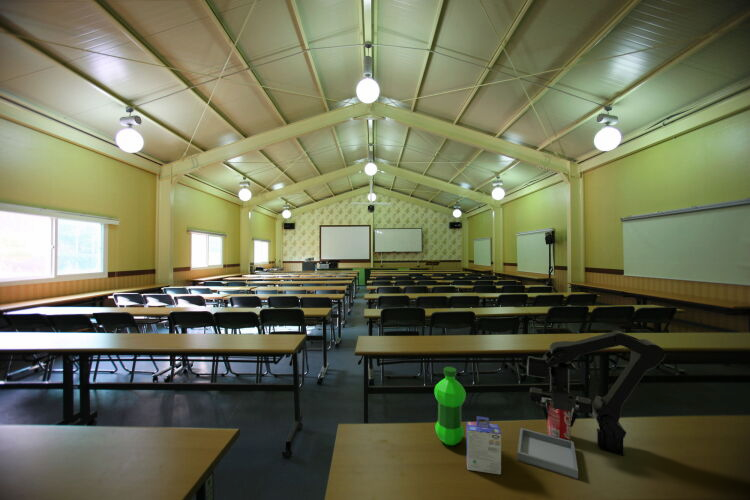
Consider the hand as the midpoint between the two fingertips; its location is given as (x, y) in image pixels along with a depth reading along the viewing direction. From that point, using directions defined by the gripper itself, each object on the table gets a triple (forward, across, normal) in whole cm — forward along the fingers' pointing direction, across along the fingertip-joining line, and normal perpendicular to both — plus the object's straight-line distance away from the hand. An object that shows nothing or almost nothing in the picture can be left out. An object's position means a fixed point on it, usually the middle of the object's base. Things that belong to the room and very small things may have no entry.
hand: (559, 423), depth 107 cm
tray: (+5, -4, -12) cm, 14 cm away
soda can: (+5, 0, 0) cm, 5 cm away
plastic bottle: (+5, -34, -21) cm, 40 cm away
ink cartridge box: (+5, -21, -28) cm, 35 cm away
